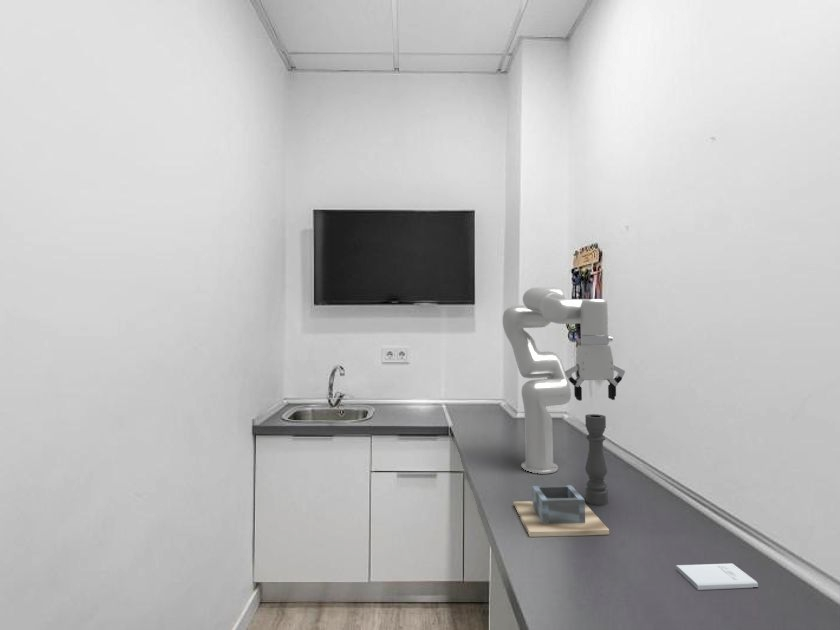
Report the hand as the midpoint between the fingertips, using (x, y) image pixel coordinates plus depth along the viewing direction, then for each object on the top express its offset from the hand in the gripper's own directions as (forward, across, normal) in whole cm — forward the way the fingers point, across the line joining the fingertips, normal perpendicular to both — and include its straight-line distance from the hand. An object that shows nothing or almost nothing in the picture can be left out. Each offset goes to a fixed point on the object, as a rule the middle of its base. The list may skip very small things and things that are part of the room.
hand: (595, 399), depth 147 cm
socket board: (+30, +15, +12) cm, 36 cm away
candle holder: (+30, 0, 0) cm, 30 cm away
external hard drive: (+31, -9, +43) cm, 53 cm away
